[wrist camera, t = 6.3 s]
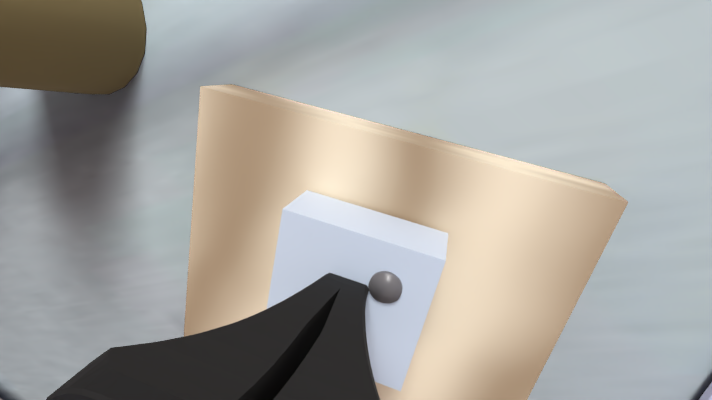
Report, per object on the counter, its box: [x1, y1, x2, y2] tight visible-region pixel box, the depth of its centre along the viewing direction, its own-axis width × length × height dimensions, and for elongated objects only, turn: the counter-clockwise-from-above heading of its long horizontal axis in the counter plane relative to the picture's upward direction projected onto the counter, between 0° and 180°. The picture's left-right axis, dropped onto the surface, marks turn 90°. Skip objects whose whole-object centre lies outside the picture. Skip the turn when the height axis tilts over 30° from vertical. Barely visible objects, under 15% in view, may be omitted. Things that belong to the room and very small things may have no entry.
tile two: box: [267, 190, 448, 391], centre depth 13 cm, size 5×5×2 cm
